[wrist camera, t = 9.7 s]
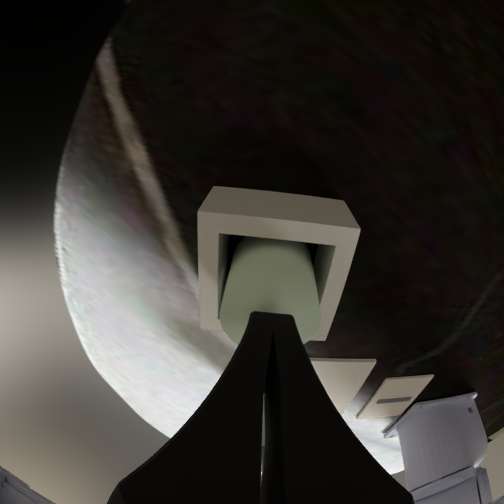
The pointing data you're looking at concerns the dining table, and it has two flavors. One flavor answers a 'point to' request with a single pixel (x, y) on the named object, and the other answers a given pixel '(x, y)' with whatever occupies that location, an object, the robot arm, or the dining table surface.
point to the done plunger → (270, 285)
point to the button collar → (275, 227)
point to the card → (394, 396)
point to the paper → (342, 378)
